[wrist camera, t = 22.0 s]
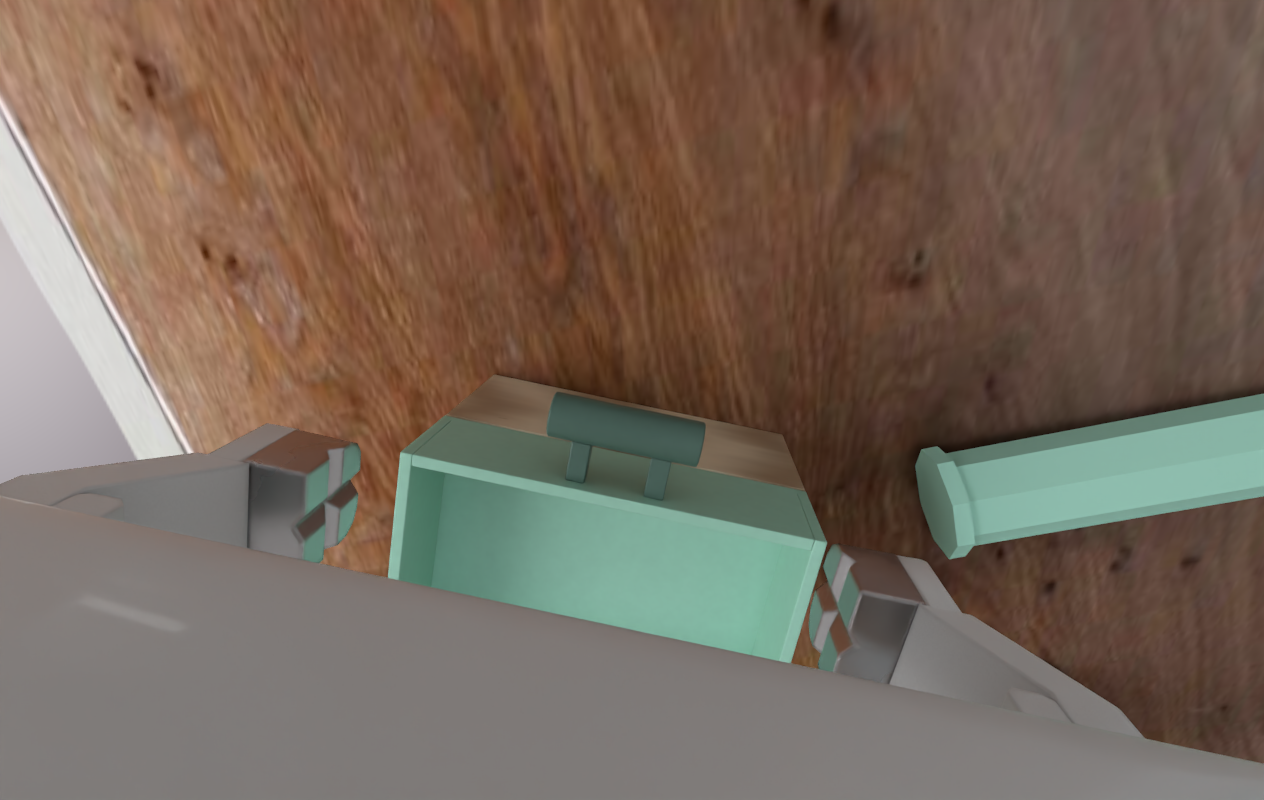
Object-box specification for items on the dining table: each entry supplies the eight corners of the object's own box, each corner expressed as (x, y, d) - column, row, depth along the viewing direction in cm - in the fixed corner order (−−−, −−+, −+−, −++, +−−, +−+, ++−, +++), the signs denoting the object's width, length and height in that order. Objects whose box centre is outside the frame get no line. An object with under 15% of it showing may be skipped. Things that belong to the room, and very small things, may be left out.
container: (1562, 399, 29) (960, 506, 32) (1491, 494, 32) (954, 582, 35) (1429, 327, 34) (915, 427, 37) (1379, 417, 37) (914, 501, 40)
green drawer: (420, 617, 34) (376, 683, 29) (453, 344, 30) (408, 369, 25) (749, 689, 34) (759, 768, 29) (826, 421, 30) (852, 461, 25)
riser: (471, 541, 42) (422, 615, 34) (494, 373, 39) (445, 414, 31) (738, 598, 42) (748, 686, 34) (782, 434, 39) (805, 489, 31)
